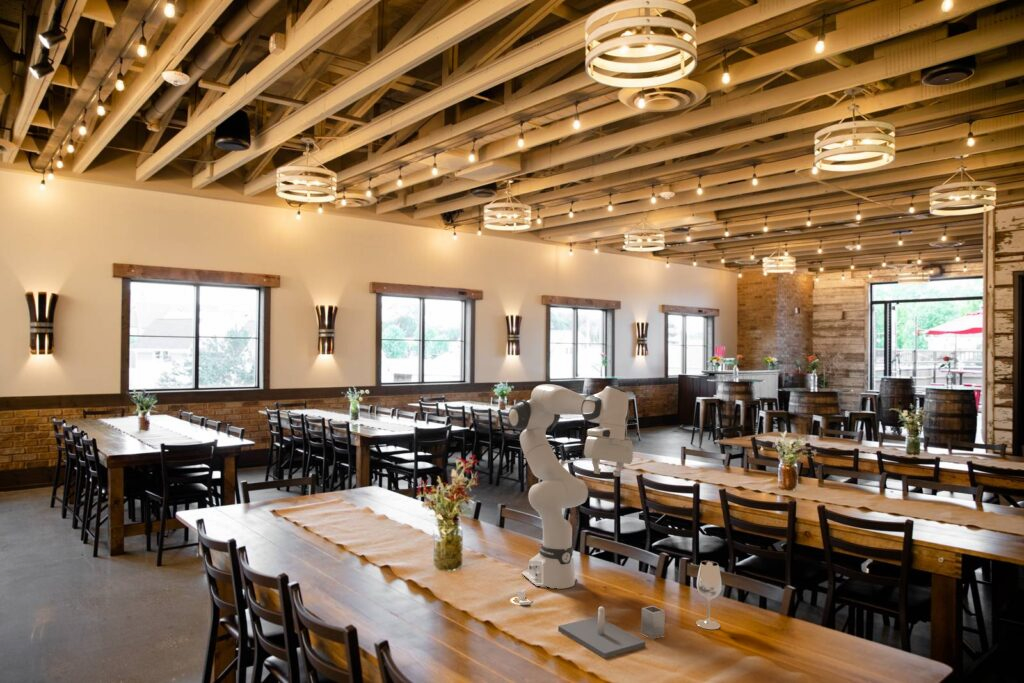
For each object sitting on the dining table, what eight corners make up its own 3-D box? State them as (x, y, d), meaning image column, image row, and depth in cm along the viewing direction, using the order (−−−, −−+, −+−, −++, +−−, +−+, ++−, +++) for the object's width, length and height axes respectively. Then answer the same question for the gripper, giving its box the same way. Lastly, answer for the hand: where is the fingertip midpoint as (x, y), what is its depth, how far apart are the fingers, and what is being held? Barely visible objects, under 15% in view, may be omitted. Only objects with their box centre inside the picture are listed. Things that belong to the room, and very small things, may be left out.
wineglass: (703, 630, 214) (705, 567, 214) (691, 621, 221) (692, 560, 222) (725, 628, 216) (726, 566, 216) (711, 619, 223) (713, 559, 224)
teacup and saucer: (530, 608, 229) (530, 596, 229) (507, 605, 231) (507, 594, 231) (534, 599, 238) (534, 587, 238) (512, 597, 240) (513, 585, 240)
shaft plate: (558, 630, 210) (559, 599, 210) (597, 621, 219) (598, 591, 219) (604, 658, 192) (605, 624, 192) (645, 646, 200) (646, 614, 201)
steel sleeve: (641, 633, 210) (641, 608, 210) (652, 630, 212) (653, 605, 213) (652, 639, 206) (653, 613, 206) (664, 636, 208) (664, 610, 208)
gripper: (625, 436, 236) (620, 476, 233) (583, 429, 223) (578, 471, 221) (639, 438, 231) (634, 478, 228) (597, 430, 218) (592, 473, 216)
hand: (606, 474), depth 225 cm, fingers open, 8 cm apart
